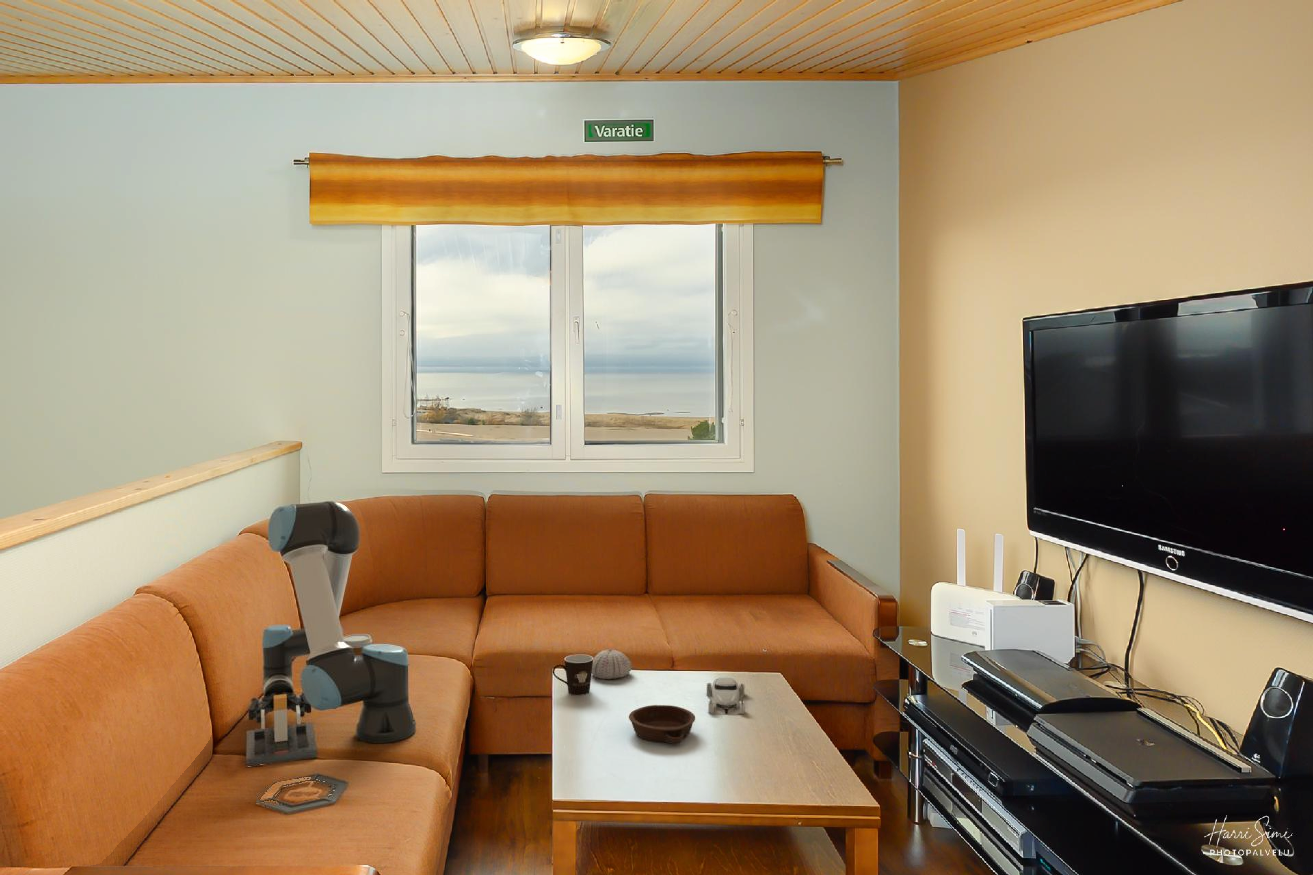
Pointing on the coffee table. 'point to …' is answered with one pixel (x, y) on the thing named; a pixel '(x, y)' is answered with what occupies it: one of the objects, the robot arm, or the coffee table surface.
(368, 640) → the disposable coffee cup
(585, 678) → the coffee mug
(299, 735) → the panel
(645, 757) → the coffee table surface
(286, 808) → the hexagonal plaque
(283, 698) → the breaker lever
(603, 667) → the sea urchin shell
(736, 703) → the car model
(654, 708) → the dish
